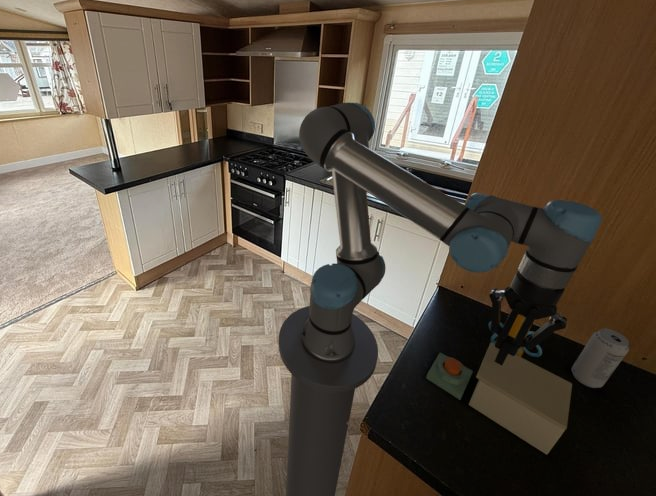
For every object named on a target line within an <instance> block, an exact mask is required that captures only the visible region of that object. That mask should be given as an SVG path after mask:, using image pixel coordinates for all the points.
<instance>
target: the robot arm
mask: <svg viewBox="0 0 656 496" xmlns="http://www.w3.org/2000/svg"><path fill="white" fill-rule="evenodd" d="M298 131H299V132H298V138H299V144H300V146H301V148H302V150H303V151H304V153H305V155H307V157H308V158H309V159H310V160H311V161H313V162H314V163H315V164H317V166H318V167H320V168H322V169H323V170H325V171H326V172H331V177H332V185H333V193H334V194H333V195H334V204H335V212H336V218H337V228H338V237H339V246H338V247H337V248H336V249H335V255H336V263H331V264H329V263H327V264H324V265H322V266H320V267H319V268H317V269H316V271H314V273H313V276H312V278H311V282H310V287H309V291H310V293H309V294H310V295H309V296H310V297H309V306H310V308H309V317H307V320H306V322H305V324H304V325H303V327H302V331H301V342H302V345H303V347H304V349H305V350H306V352H307V353H308V354H309V355H310V356H312V357H313V358H315V359H317V360H319V361H322V362H325V363H338V362H342V361H344V360H346V359H347V358H349V357H350V356H351V354H352V353H353V350H354V346H355V336H354V333H353V330H352V326H351V321H352V315H353V314H354V310H355V308H357V306H358V305H360V303H361V302H362V301H363V300H364V299H365V298H366V297H368V295H369V294H370V293H372V291H373V290H375V288H376V287H378V286H379V285H380V283H381V282H382V280H383V278H384V277H385V274H386V268H387V267H386V262H385V259H384V257H383V256H382V255H380V252H379V251H378V248H377V246H376V245H375V244H373V243H372V240H371V226H370V216H369V204H368V194H369V195H371V196H372V197H374V198H375V199H377V200H378V201H380V202H382V203H383V204H385V205H386V206H388V207H389V208H390V209H392V210H394V211H395V212H397V213H398V214H400V215H401V216H403V217H405V218H406V219H408V220H409V221H410V222H412V223H413V224H415V225H416V226H418V227H420V228H421V229H422V230H424V231H425V232H427V233H429V234H430V235H431V236H433V237H435V238H436V239H438V240H439V241H441V242H442V243H443V244H444V245H446V246H448V252H449V256H450V257H451V259H452V260H453V262H454V263H455V264H456V265H457V266H458V267H459V268H461V269H463V270H464V271H467V272H470V273H477V274H479V273H480V274H483V273H487V272H491V271H493V270H494V269H496V268H498V266H499V265H500V264H501V262H502V261H503V260H504V259H505V258H506V256H507V254H508V252H509V248H510V246H511V243H515V244H518V245H523V246H526V247H527V248H526V250H525V252H524V254H523V256H522V258H521V260H520V263H519V265H518V268H517V270H516V272H515V274H514V276H513V278H512V281H511V283H510V285H509V286H507V287H506V288H505V289H503V290H501V289H500V290H499V289H498V288H496V287H493V288H491V291H490V293H489V296H488V297H489V299H490V302H491V315H490V316H491V318H490V321H491V331H490V332H491V333H492V332H493V333H492V334H494V333H496V334H497V335H498V336H497V338H496V340H495V341H496V343H495V347H496V348H498V349H500V350H499V352H498V354H497V356H496V359H495V361H494V362H496V363H498V364H500V365H501V366H502V365H503V363H504V361H505V359H506V357H507V355H508V354H510V355H511V356H515V355H516V353H517V351H518V349H519V348H520V347H525V348H526V349H527V350H528V351H531V350H533V349H534V348H536V347H535V346H537V345H540V344H541V343H542V342H543V341H545V340H546V339H547V338H548V337H550V336H551V335H553V333H554V332H557V331H561V330H564V329H566V328H567V323H568V319H567V318H566V316H562V315H561V314H559V313H558V312H557V311H558V307H557V305H558V303H559V301H560V299H561V298H562V295H563V294H564V292H565V290H566V289H565V288H566V287H568V285H569V283H570V281H571V279H572V278H573V276H574V274H575V272H576V270H577V268H578V267H579V265H580V263H581V261H582V260H583V258H584V256H585V254H586V253H587V251H588V250H589V248H590V246H591V244H592V243H593V241H594V238H595V236H596V233H597V231H598V230H599V228H600V225H601V223H602V221H603V218H602V215H601V214H600V212H599V211H598V210H596V209H595V208H593V207H591V206H590V205H586V204H584V203H580V202H576V201H573V200H563V199H555V200H554V199H553V200H550V201H549V202H547V204H546V205H545V206H544V208H543V207H537V206H533V205H529V204H525V203H522V202H518V201H514V200H509V199H505V198H502V197H498V196H496V195H493V194H485V193H480V192H475V193H472V194H471V195H470V196H469V197H468V199H467V200H466V202H465V204H463V203H461V202H459V201H458V200H456V199H455V198H453V197H451V196H450V195H449V194H446V193H444V192H442V191H441V190H439V189H438V188H436V187H435V186H433V185H431V184H429V183H427V182H426V181H424V180H423V179H421V178H420V177H417V176H416V175H414V174H412V173H411V172H409V171H408V170H406V169H404V168H403V167H401V166H399V165H397V164H395V163H394V162H392V161H391V160H389V159H387V158H386V157H384V156H382V155H380V154H378V153H377V152H376V151H374V150H372V149H370V143H369V142H370V141H371V140H372V138H373V136H374V134H375V131H376V122H375V118H374V115H373V113H372V112H371V110H369V108H367V107H366V106H365V105H363V104H362V103H358V102H342V103H337V104H333V105H328V106H321V107H317V108H315V109H313V110H311V111H310V112H308V114H306V116H305V117H303V119H302V121H301V123H300V127H299V130H298ZM504 298H505V300H506V302H507V305H508V307H509V308H510V311H509V314H508V316H507V318H506V320H505V322H504V323H503V325H504V326H503V328H502V327H501V326H500V323H501V312H502V301H503V300H504ZM518 314H519V315H523V316H524V317H525V319H524V321H523V323H522V325H521V327H520V329H519V331H518V333H517V335H516V337H515V338H513V337H511V336H509V335H508V334H509V332H510V330H511V328H512V326H513V324H514V322H515V320H516V318H517V316H518ZM546 318H548V321H546V322H545V323H544V324H543V325H541V326H540V327H539V328H538V329H537V330H536V331H534V332H535V333H533V334H530V336H529V337H527V336H526V334H527V332H528V331H530V330H529V329H531V328H530V327H532V326H533V324H534V322H535V321H536V320H537V321H538V320H541V319H546ZM531 325H532V326H531ZM525 336H526V338H525Z"/></svg>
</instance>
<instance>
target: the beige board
mask: <svg viewBox="0 0 656 496" xmlns="http://www.w3.org/2000/svg"><path fill="white" fill-rule="evenodd" d="M499 350H500V349H498V348H496V347H495V344H494V343H492V342H491V341H490V342H489V346H488V347H487V349H486V352H485V355H484V357H483V359H482V361H481V364H480V366H479V369H478V370H477V374H476V375H475V378H476V379H477V380H481V381H483V382H484V383H486V384H488V385H489V386H491V387H493V388H495V389H496V390H498V391H500V392H501V393H503V394H505V395H506V396H508V397H510V398H512V399H513V400H515V401H517V402H518V403H520V404H522V405H523V406H525V407H527V408H528V409H530V410H532V411H534V412H535V413H537V414H539V415H540V416H542V417H544V418H545V419H547V420H549V421H551V422H552V423H554V424H556V425H557V426H559V427H561V428H562V429H564V430H565V431H566V430H567V428H568V423H569V415H570V414H569V413H570V404H571V396H572V389H573V383H572V382H570V381H569V380H566V379H564V378H563V377H560V376H558V375H556V374H555V373H552V372H550V371H548V370H546V369H545V368H543V367H540V366H539V365H536V364H535V363H533V362H531V361H529V360H527V359H525V358H523V357H519V356H517V355H515V356H511V355H510V354H508V355H507V357H506V359H505V361H504V363H503V365H502V366H501V365H500V364H498V363H496V362H494V361H495V359H496V356H497V354H498V352H499Z"/></svg>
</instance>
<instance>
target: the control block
mask: <svg viewBox="0 0 656 496" xmlns="http://www.w3.org/2000/svg"><path fill="white" fill-rule="evenodd" d="M447 358H453V359H455V360H457V361H458V362H459V363H460V364H461V366H462V369H461V371H460V373H459V375H452V374H450V373H448V372H447V371H446V370H445V368H444V363H445V361H446V359H447ZM472 375H473V370H472V369H470V368H469V367H466V366H465V365H464V364H463V363H462V362H461V361H459V360H458V359H456V358H454V357H450V356H447V355H445V354H444V353H442V352H439V353H438V355H437V357H436V358H435V360H434V361H433V363H432V365H431V366H430V369H429V370H428V372H427V374H426V377H425V379H427V380H428V381H429V382H431V383H433V384H435V385H436V386H437V387H439V388H440V389H442V390H443V391H445V392H447V393H448V394H450V395H451V396H453V397H454V398H455V399H458V400H459V401H461V399H462V397H463V395H464V393H465V390H466V388H467V386H468V383H469V382H470V379H471V378H472Z"/></svg>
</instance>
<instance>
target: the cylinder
mask: <svg viewBox="0 0 656 496" xmlns="http://www.w3.org/2000/svg"><path fill="white" fill-rule="evenodd" d="M524 319H525V317H524V316H523V315H519V314H518V316H517V318H516V320H515V322H514V324H513V326H512V328H511V330H510V332H509V334H508V335H509V336H511V337H513V338H515V337H516V335H517V333H518V331H519V329H520V327H521V325H522V323H523V321H524ZM503 326H504V323H502V322H500V327H502V328H503ZM532 326H533V324H532V325H531V327H532ZM487 327H488V329H489V330H490V332H491V320H490V321H489V322H488V326H487ZM531 327H530V329H531ZM530 329H529V331H528V332H527V334H526V336H525V339H527V336H529V335H530V336H531V335H532V334H533V333H535V332H536V331H533V330H530ZM491 333H492V335H491V337H490V343H491V342H492V343H494V344H495V343H496V341H497V340H495V339H497V338H498V335H497V334H496V333H493V332H491ZM534 348H536V350H537V352H536V353H533V352H531V351H530V350H527V349H526V348H525V347H520V348H519V349H518V351H517V353H516V355H517V356H519V357H521V358H523V355H524V353H526V354H527V355H528V356H530V357H532V358H533V357H534V358H539V357H541V356H542V354H543V349H542V348H541V346H540V344H538V345H537V346H535V347H534Z"/></svg>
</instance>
